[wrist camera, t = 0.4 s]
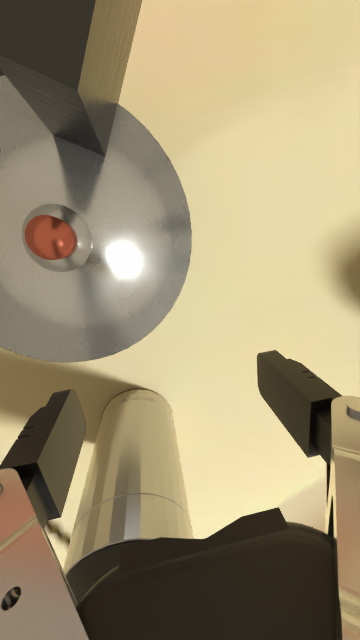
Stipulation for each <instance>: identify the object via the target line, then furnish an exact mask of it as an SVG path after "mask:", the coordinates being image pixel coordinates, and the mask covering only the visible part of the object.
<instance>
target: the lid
mask: <svg viewBox="0 0 360 640" xmlns="http://www.w3.org/2000/svg"><path fill="white" fill-rule="evenodd" d="M141 3H142V0H0V69H1V71H2V72H3V73H4V74H5V75H4V76H0V347H2V348H4V349H7V350H9V351H12V352H14V353H17V354H20V355H23V356H27V357H30V358H34V359H39V360H45V361H52V362H82V361H89V360H94V359H100V358H103V357H106V356H109V355H113V354H115V353H118V352H120V351H122V350H124V349H127V348H128V347H130V346H132V345H133V344H135V343H137V342H138V341H140V340H141V339H143V338H144V337H145V336H146V335H148V334H149V333H150V332H152V331H153V330H154V329H155V328H156V327H157V326H158V324H159V323H160V322H161V321H162V320H163V319H164V318H165V316H166V315H167V314H168V312H169V311H170V310H171V308H172V307H173V305H174V303H175V301H176V300H177V298H178V296H179V294H180V292H181V289H182V287H183V284H184V282H185V279H186V275H187V271H188V267H189V262H190V255H191V235H192V231H191V222H190V213H189V209H188V205H187V201H186V196H185V193H184V191H183V188H182V185H181V182H180V180H179V177H178V175H177V173H176V171H175V169H174V167H173V165H172V163H171V161H170V159H169V158H168V156H167V155H166V153H165V152H164V150H163V149H162V147H161V146H160V144H159V143H158V142H157V140H156V139H155V138H154V137H153V136H152V134H151V133H150V132H149V131H148V130H147V129H146V127H145V126H144V125H143V124H142V123H140V122H139V121H138V120H137V119H136V118H135V117H134V116H133V115H132V114H131V113H130V112H128V111H127V110H126V109H124V108H123V107H122V106H120V105H119V104H118V101H119V96H120V92H121V88H122V84H123V79H124V75H125V71H126V67H127V62H128V58H129V54H130V50H131V45H132V41H133V37H134V33H135V28H136V24H137V20H138V16H139V11H140V7H141Z"/></svg>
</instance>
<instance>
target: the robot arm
mask: <svg viewBox="0 0 360 640" xmlns="http://www.w3.org/2000/svg"><path fill="white" fill-rule="evenodd" d="M257 374H258V388H259V391H260V394H261V396H262V397H263V399H264V400H265V401H266V403H267V404H268V405H269V407H270V408H271V409H272V411H273V412H274V413H275V415H276V416H277V417H278V419H279V420H280V421H281V423H282V424H283V425H284V427H285V428H286V429H287V431H288V432H289V433H290V435H291V436H292V437H293V438H294V440H295V441H296V442H297V444H298V445H299V446H300V448H301V449H302V450H303V452H304V453H305V454H306V456H307V457H308V458H309V457H313V456H317V455H321V457H322V458H323V459H324V460H325V462H326V493H325V497H326V498H325V533H324V532H322V531H320V530H317V529H315V528H313V527H310V526H306V525H303V524H299V523H293V522H286V521H285V519H284V517H283V515H282V513H281V511H280V509H279V507H278V508H274V509H270V510H266V511H262V512H259V513H255V514H251V515H247V516H243V517H240V518H239V519H237V520H236V521H234V522H232V523H231V524H229V525H227V526H226V527H224V528H223V529H221V530H219V531H218V532H216V533H214V534H213V535H211V536H210V537H208V538H206V539H194V538H193V532H192V526H191V522H190V516H189V510H188V504H187V498H186V492H185V486H184V480H183V474H182V469H181V463H180V457H179V451H178V445H177V439H176V432H175V427H174V421H173V416H172V410H171V408H170V406H169V404H168V403H167V401H166V400H165V399H164V398H163V397H162V396H160V395H159V394H157V393H155V392H152V391H149V390H141V389H137V390H130V391H126V392H123V393H121V394H119V395H118V396H116V397H115V398H114V399H112V400H111V401H110V402H109V404H108V405H107V406H106V408H105V410H104V412H103V416H102V420H101V424H100V427H99V431H98V435H97V438H96V442H95V446H94V450H93V454H92V458H91V462H90V466H89V470H88V474H87V478H86V482H85V485H84V489H83V493H82V497H81V501H80V505H79V509H78V513H77V517H76V521H75V525H74V528H73V532H72V537H71V541H70V545H69V549H68V553H67V557H66V561H65V565H64V569H62V567H61V565H60V562H59V560H58V558H57V556H56V553H55V551H54V549H53V547H52V544H51V542H50V540H49V538H48V535H47V533H46V531H45V529H44V527H45V524H46V521H47V520H51V519H56V518H60V517H61V515H62V512H63V508H64V505H65V502H66V498H67V495H68V491H69V488H70V485H71V481H72V478H73V474H74V471H75V467H76V464H77V461H78V457H79V454H80V450H81V447H82V444H83V440H84V437H85V432H86V423H85V418H84V415H83V412H82V409H81V406H80V403H79V399H78V396H77V393H76V391H75V390H74V389H71V390H66V391H61V392H55V393H53V395H52V396H51V398H50V400H49V401H48V403H47V405H46V407H42V408H40V409H39V410H38V411H37V412H36V413H35V414H34V415H32V416H31V417H30V419H29V420H28V422H27V423H26V425H25V427H24V430H22V431H21V433H20V435H19V436H18V439H16V441H15V443H14V444H13V446H12V447H11V449H10V451H9V452H8V454H7V455H6V457H5V458H4V460H3V462H2V463H1V465H0V640H360V398H359V397H354V396H342V395H340V394H339V393H338V392H337V391H335V390H334V389H333V388H332V387H330V386H329V385H328V384H327V383H325V382H324V381H323V380H321V379H320V378H319V377H317V376H316V375H315V374H314V373H313V372H311V371H310V370H309V369H308V368H306V367H305V366H304V365H303V364H301V363H299V362H297V361H294V360H292V359H286V358H285V357H283V356H282V355H281V354H280V353H279V352H277V351H276V350H273V351H268V352H263V353H259V354H258V355H257Z"/></svg>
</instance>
